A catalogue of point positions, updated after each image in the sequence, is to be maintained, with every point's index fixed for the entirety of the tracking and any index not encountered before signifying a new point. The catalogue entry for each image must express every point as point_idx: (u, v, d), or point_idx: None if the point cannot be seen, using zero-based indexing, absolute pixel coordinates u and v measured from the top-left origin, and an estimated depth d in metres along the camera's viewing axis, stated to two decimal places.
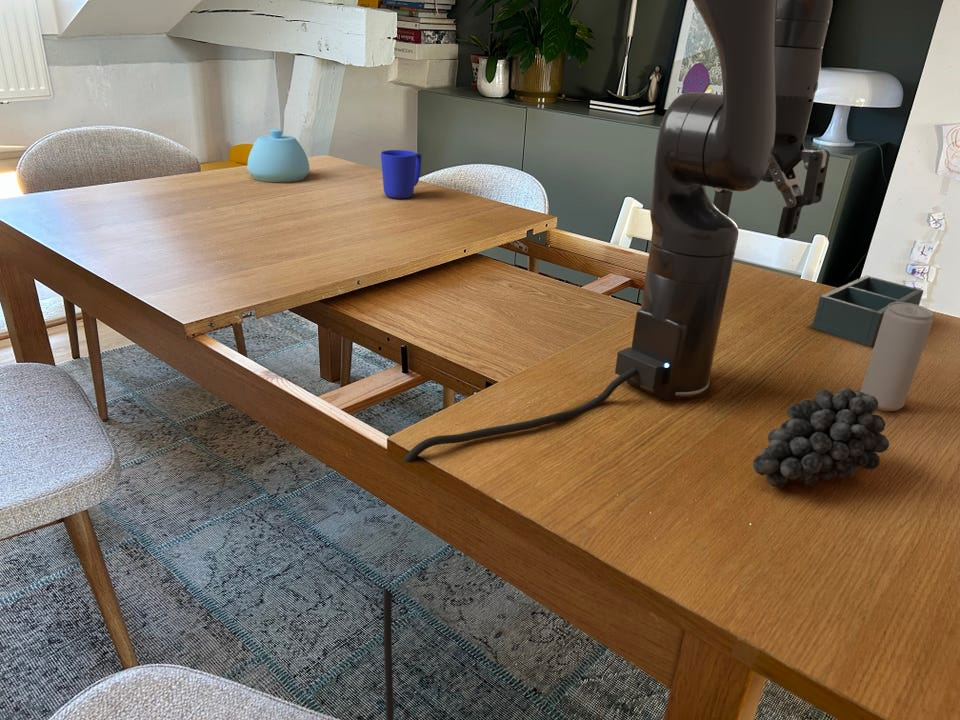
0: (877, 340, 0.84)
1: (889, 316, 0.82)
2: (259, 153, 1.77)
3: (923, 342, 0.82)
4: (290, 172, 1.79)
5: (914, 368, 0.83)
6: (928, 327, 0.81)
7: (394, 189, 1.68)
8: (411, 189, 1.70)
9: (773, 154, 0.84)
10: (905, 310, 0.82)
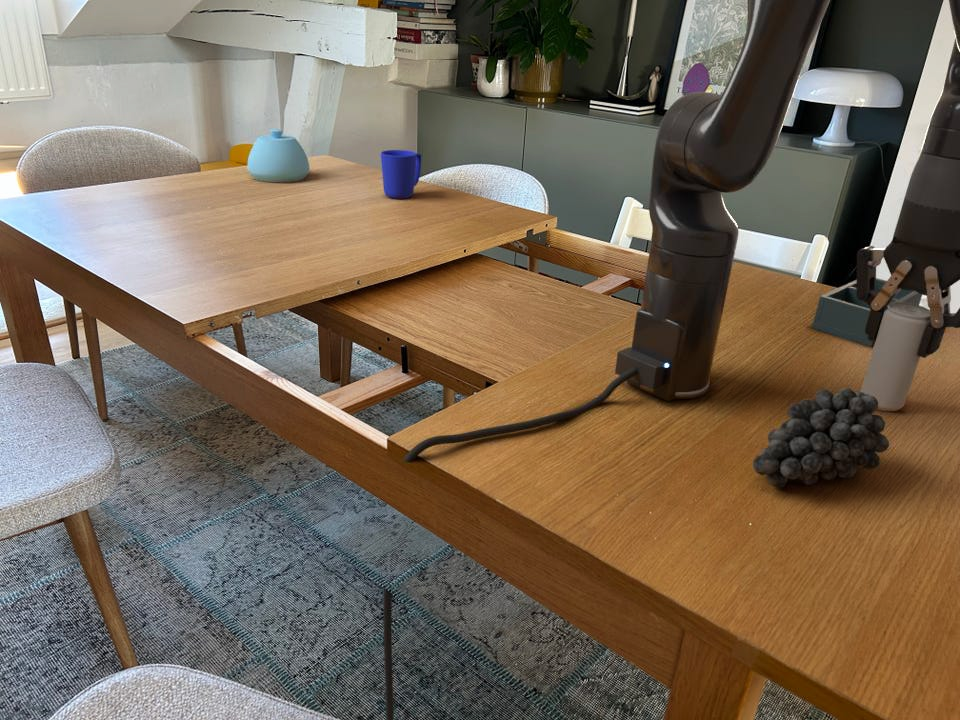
0: (877, 340, 0.84)
1: (889, 316, 0.82)
2: (259, 153, 1.77)
3: None
4: (290, 172, 1.79)
5: (914, 368, 0.83)
6: None
7: (394, 189, 1.68)
8: (411, 189, 1.70)
9: (937, 270, 0.78)
10: (905, 310, 0.82)
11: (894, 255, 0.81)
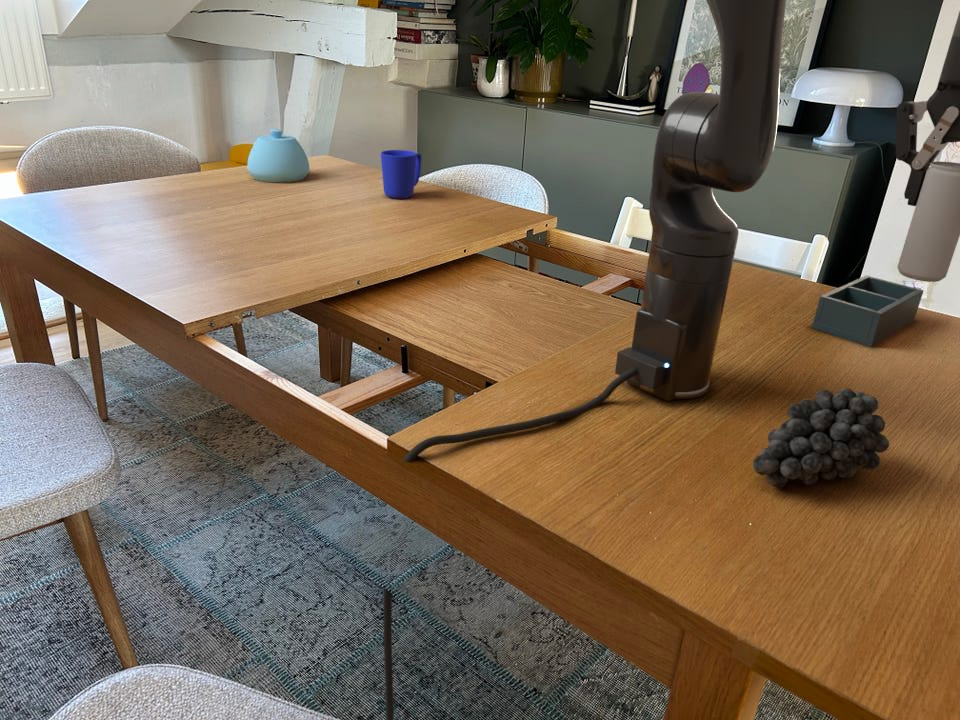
0: (918, 203, 0.78)
1: (932, 172, 0.76)
2: (259, 153, 1.77)
3: None
4: (290, 172, 1.79)
5: (959, 231, 0.77)
6: None
7: (394, 189, 1.68)
8: (411, 189, 1.70)
9: None
10: (950, 166, 0.76)
11: (939, 104, 0.75)
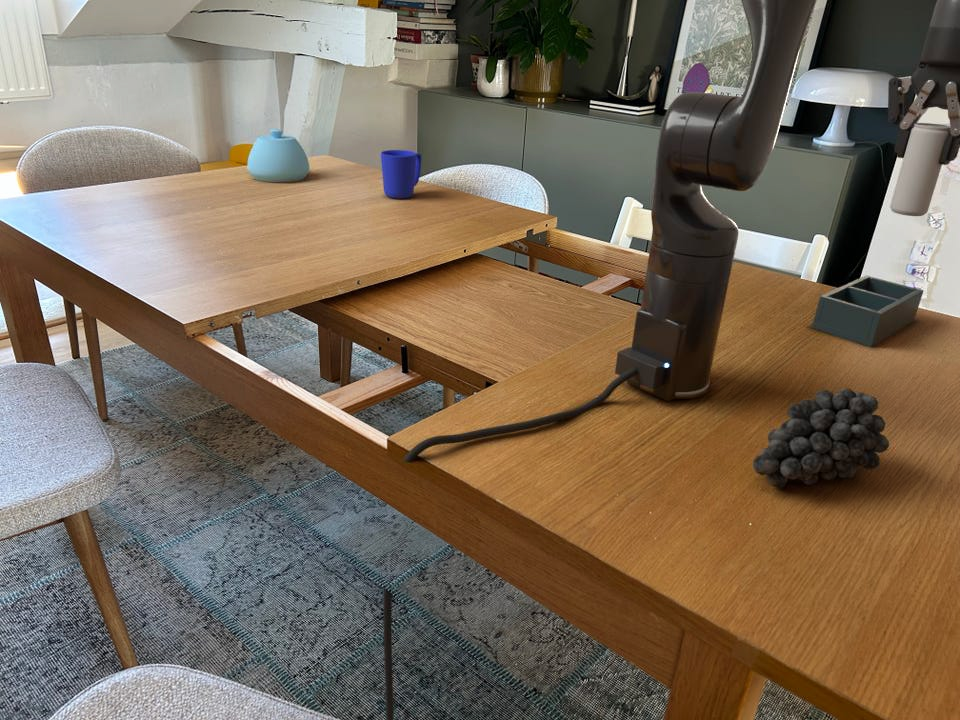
0: (905, 155, 1.02)
1: (916, 131, 0.99)
2: (259, 153, 1.77)
3: None
4: (290, 172, 1.79)
5: (936, 176, 1.00)
6: None
7: (394, 189, 1.68)
8: (411, 189, 1.70)
9: (956, 84, 0.95)
10: (929, 126, 0.99)
11: (920, 78, 0.98)
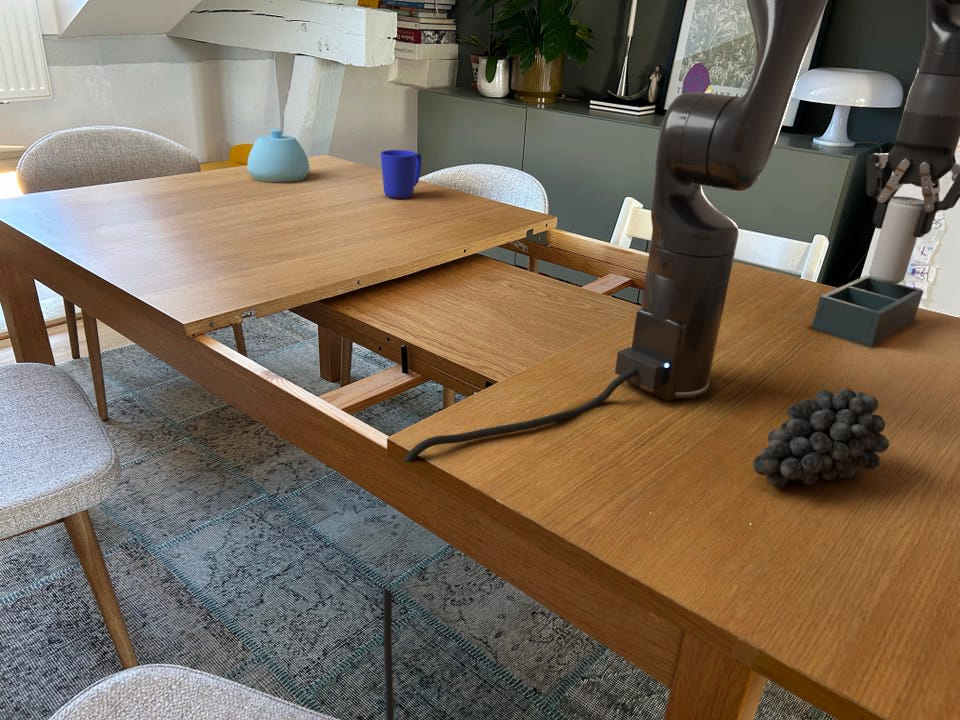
0: (882, 226, 1.08)
1: (892, 205, 1.05)
2: (259, 153, 1.77)
3: None
4: (290, 172, 1.79)
5: (911, 247, 1.06)
6: None
7: (394, 189, 1.68)
8: (411, 189, 1.70)
9: (929, 165, 1.01)
10: (904, 200, 1.05)
11: (896, 157, 1.04)
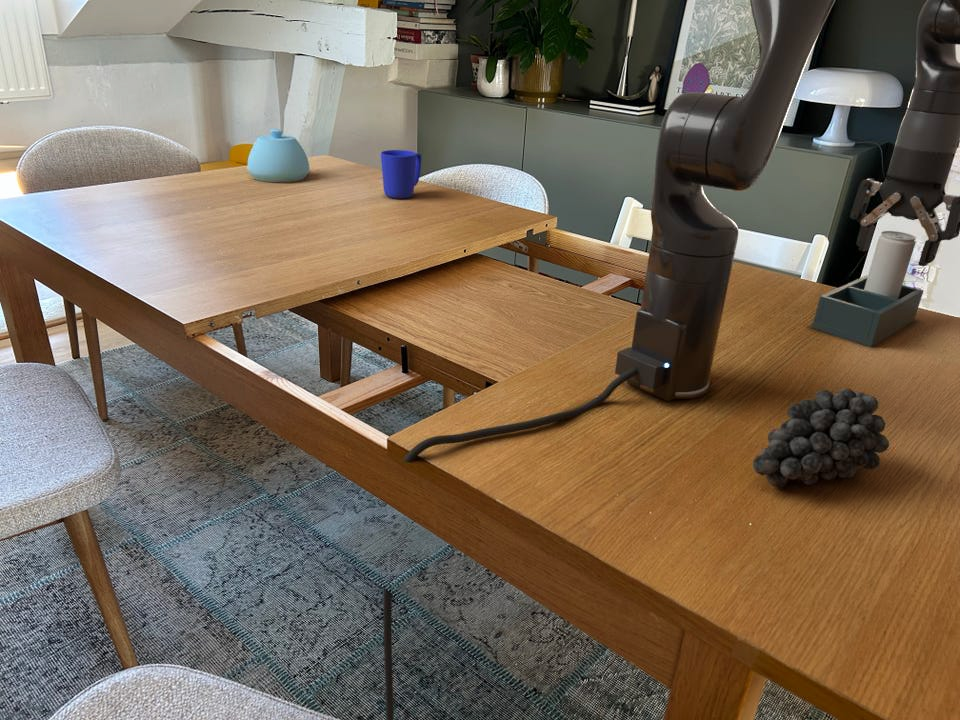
0: (873, 260, 1.10)
1: (882, 240, 1.07)
2: (259, 153, 1.77)
3: (908, 260, 1.07)
4: (290, 172, 1.79)
5: (901, 281, 1.08)
6: (912, 248, 1.06)
7: (394, 189, 1.68)
8: (411, 189, 1.70)
9: (919, 198, 1.03)
10: (894, 235, 1.07)
11: (887, 190, 1.06)
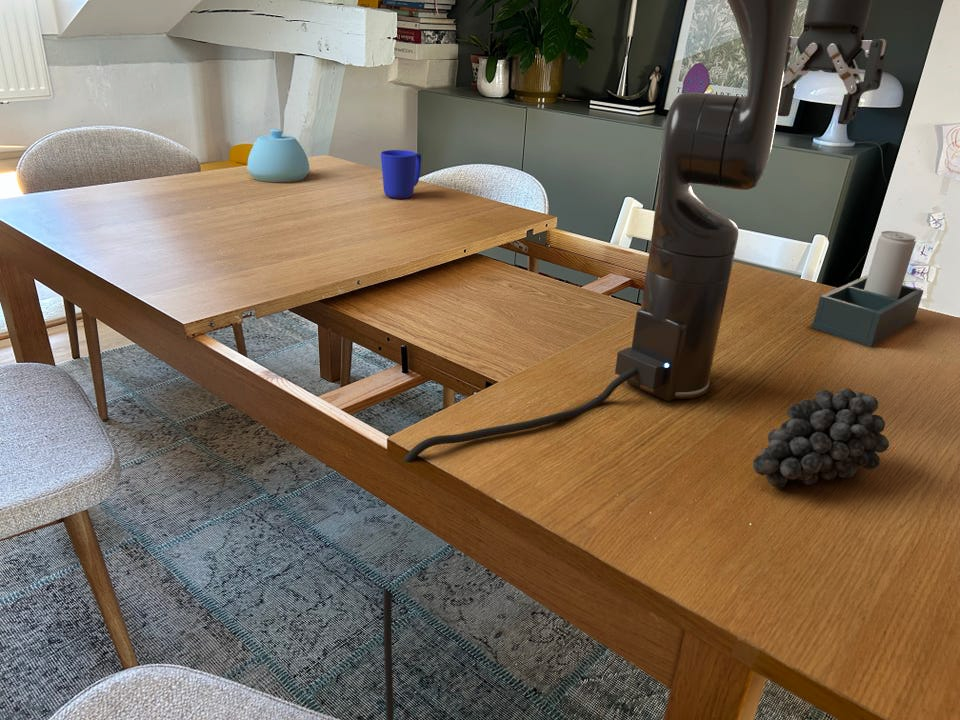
0: (873, 260, 1.10)
1: (882, 240, 1.07)
2: (259, 153, 1.77)
3: (908, 260, 1.07)
4: (290, 172, 1.79)
5: (901, 281, 1.08)
6: (911, 248, 1.06)
7: (394, 189, 1.68)
8: (411, 189, 1.70)
9: (836, 45, 0.94)
10: (894, 235, 1.07)
11: (805, 42, 0.97)
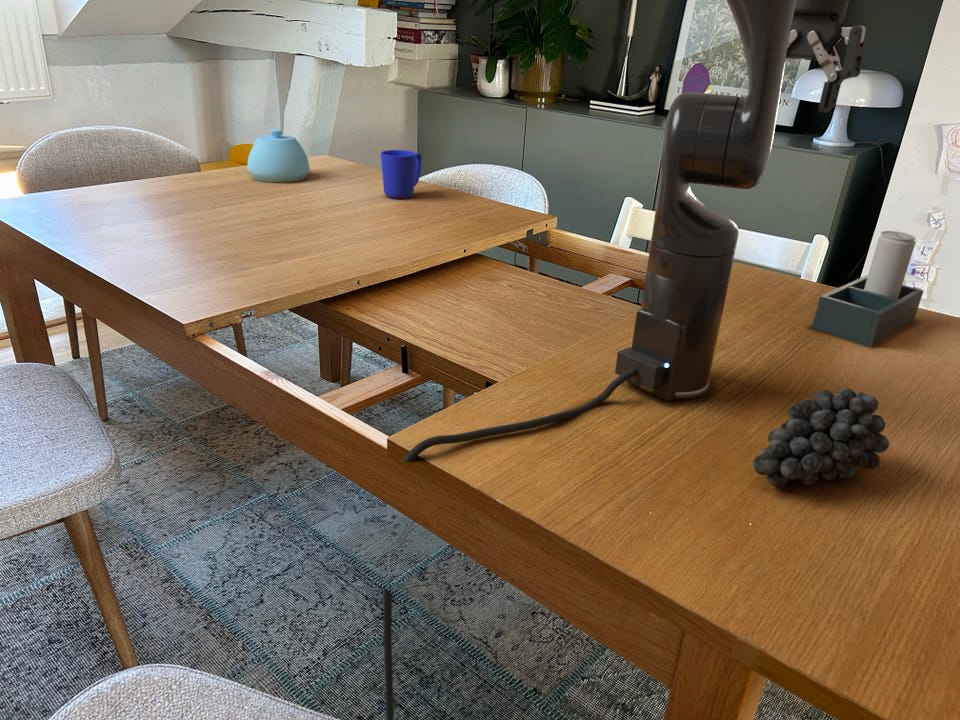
0: (873, 260, 1.10)
1: (882, 240, 1.07)
2: (259, 153, 1.77)
3: (908, 260, 1.07)
4: (290, 172, 1.79)
5: (901, 281, 1.08)
6: (911, 248, 1.06)
7: (394, 189, 1.68)
8: (411, 189, 1.70)
9: (816, 32, 0.93)
10: (894, 235, 1.07)
11: None
